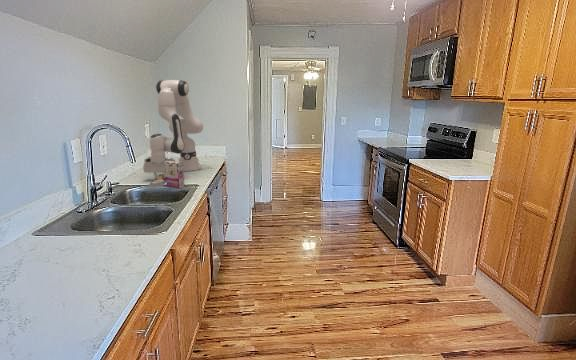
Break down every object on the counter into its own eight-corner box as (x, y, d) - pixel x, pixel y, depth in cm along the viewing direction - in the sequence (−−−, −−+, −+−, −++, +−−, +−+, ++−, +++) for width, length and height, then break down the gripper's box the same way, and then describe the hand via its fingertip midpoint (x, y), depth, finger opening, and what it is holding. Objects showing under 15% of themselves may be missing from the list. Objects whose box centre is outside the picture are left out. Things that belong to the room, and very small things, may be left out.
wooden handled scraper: (158, 178, 231) (157, 173, 230) (167, 177, 232) (166, 173, 231) (152, 184, 215) (151, 179, 214) (161, 184, 215) (161, 179, 215)
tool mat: (156, 178, 233) (156, 177, 233) (170, 177, 235) (170, 176, 234) (147, 187, 210) (146, 186, 210) (163, 186, 212) (163, 185, 211)
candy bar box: (185, 187, 210) (183, 161, 206) (179, 189, 206) (177, 163, 202) (172, 185, 215) (170, 160, 211) (166, 186, 211) (163, 161, 207)
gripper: (175, 157, 226) (177, 176, 230) (144, 158, 224) (146, 177, 227) (173, 158, 220) (175, 179, 224) (141, 159, 218) (143, 180, 221)
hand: (160, 178), depth 225 cm, fingers closed on wooden handled scraper, 3 cm apart
